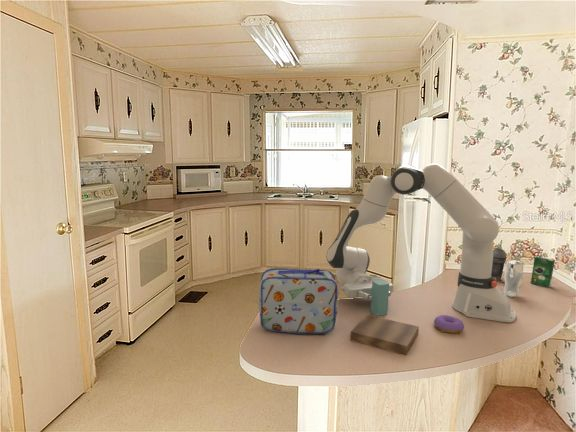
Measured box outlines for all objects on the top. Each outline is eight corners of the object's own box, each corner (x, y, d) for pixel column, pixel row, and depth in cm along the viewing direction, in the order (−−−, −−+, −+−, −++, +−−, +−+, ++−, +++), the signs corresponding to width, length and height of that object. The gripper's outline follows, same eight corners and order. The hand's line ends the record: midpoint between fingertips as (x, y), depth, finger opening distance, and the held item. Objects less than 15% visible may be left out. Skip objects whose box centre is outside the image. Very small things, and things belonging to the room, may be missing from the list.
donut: (428, 327, 141) (431, 314, 141) (438, 325, 148) (440, 312, 148) (457, 337, 134) (460, 322, 134) (466, 334, 141) (469, 320, 141)
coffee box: (551, 286, 189) (555, 259, 187) (549, 287, 187) (553, 260, 185) (532, 282, 195) (535, 255, 193) (530, 283, 193) (533, 256, 191)
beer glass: (522, 298, 172) (526, 264, 170) (504, 297, 173) (508, 263, 171) (516, 293, 179) (520, 260, 177) (499, 291, 180) (503, 259, 178)
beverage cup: (498, 277, 201) (503, 237, 198) (507, 281, 194) (512, 241, 191) (484, 276, 201) (488, 237, 198) (492, 281, 194) (497, 241, 190)
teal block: (380, 309, 156) (382, 280, 154) (387, 314, 152) (389, 283, 150) (370, 311, 155) (372, 281, 153) (377, 315, 151) (379, 285, 149)
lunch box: (336, 323, 143) (339, 263, 140) (340, 336, 133) (344, 272, 130) (259, 322, 143) (260, 262, 139) (257, 335, 133) (258, 271, 129)
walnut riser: (418, 334, 136) (418, 326, 135) (406, 355, 122) (407, 346, 122) (366, 322, 145) (367, 314, 144) (350, 340, 131) (350, 331, 130)
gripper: (338, 279, 162) (355, 290, 149) (381, 274, 169) (401, 285, 156) (337, 294, 163) (354, 306, 150) (381, 289, 170) (400, 300, 157)
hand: (378, 295), depth 153 cm, fingers open, 8 cm apart
